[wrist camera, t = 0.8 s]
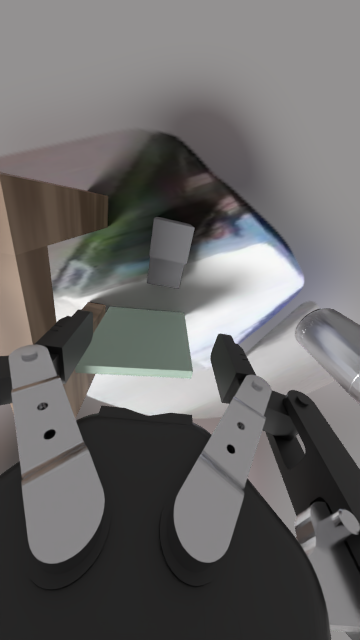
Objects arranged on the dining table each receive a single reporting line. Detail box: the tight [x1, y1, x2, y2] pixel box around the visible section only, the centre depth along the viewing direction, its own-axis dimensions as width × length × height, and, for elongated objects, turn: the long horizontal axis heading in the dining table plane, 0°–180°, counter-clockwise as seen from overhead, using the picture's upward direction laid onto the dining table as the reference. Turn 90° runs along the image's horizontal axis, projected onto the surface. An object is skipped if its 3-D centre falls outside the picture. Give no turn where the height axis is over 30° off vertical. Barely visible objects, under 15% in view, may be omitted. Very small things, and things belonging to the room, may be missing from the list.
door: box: [75, 307, 193, 378], centre depth 29 cm, size 2×14×15 cm, turn 83°
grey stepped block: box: [147, 217, 195, 289], centre depth 28 cm, size 5×9×6 cm, turn 168°
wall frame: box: [0, 172, 108, 419], centre depth 25 cm, size 3×28×20 cm, turn 168°
